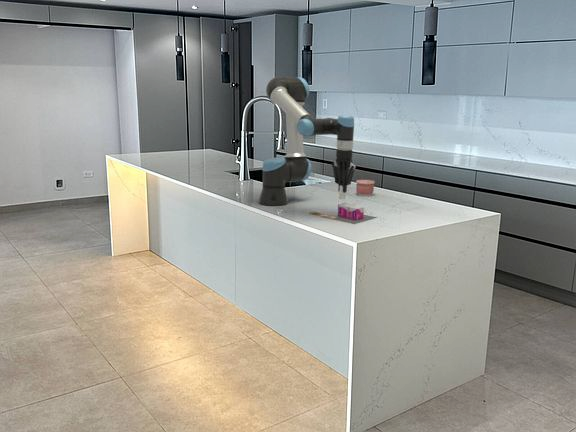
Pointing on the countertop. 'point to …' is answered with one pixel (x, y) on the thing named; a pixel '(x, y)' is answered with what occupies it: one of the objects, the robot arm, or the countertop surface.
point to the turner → (322, 215)
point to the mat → (365, 218)
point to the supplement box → (350, 211)
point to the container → (365, 187)
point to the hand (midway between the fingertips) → (342, 198)
